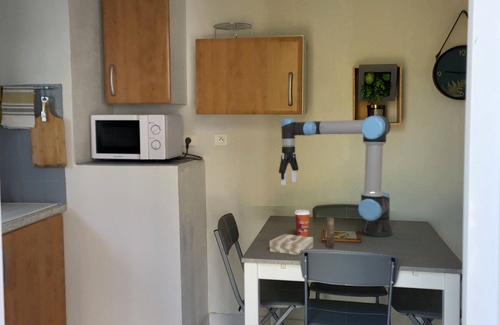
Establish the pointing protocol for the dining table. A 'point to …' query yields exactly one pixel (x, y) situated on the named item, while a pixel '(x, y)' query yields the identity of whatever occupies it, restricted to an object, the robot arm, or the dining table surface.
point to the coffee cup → (302, 222)
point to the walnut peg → (330, 232)
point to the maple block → (291, 244)
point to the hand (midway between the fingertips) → (289, 183)
